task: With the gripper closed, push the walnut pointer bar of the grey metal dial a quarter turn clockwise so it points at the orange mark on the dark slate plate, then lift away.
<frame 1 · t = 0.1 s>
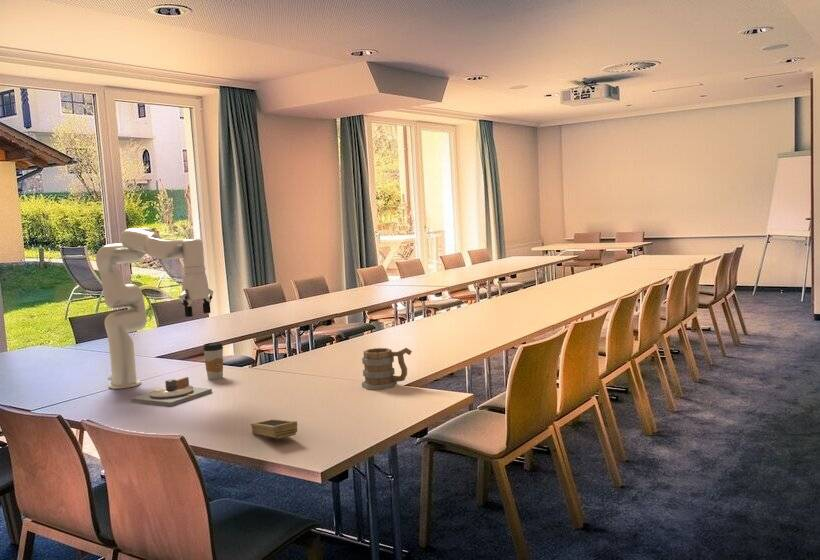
hand: (198, 314, 269), 31 cm above the table, tool pointing down, fingers open, 9 cm apart
box: (272, 437, 211), on the table
tankard: (388, 386, 267), on the table
coffee cup: (215, 378, 298), on the table
dial plate: (172, 397, 268), on the table
dial: (171, 386, 267), point 4 cm above the table, hinge at 90.0°
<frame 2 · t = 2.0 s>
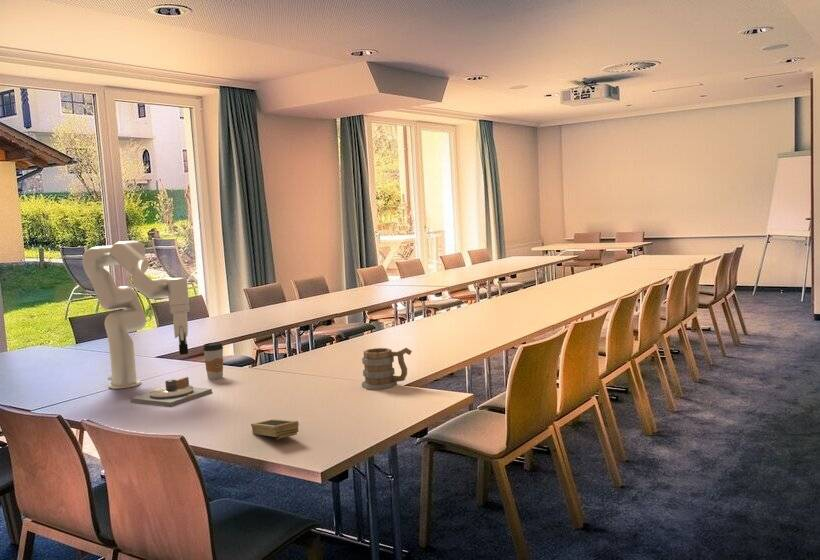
hand: (184, 353, 277), 15 cm above the table, tool pointing down, fingers closed
nothing on the table moved.
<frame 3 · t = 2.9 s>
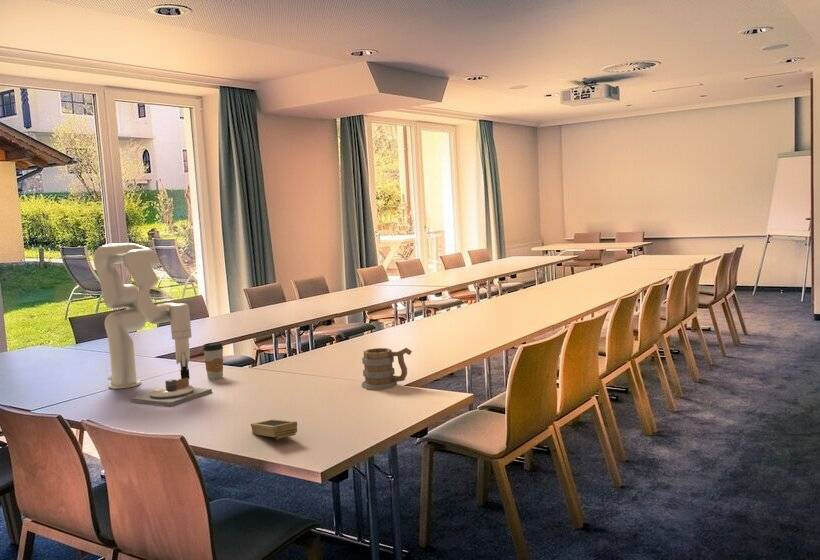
hand: (185, 379, 278), 4 cm above the table, tool pointing down, fingers closed
nothing on the table moved.
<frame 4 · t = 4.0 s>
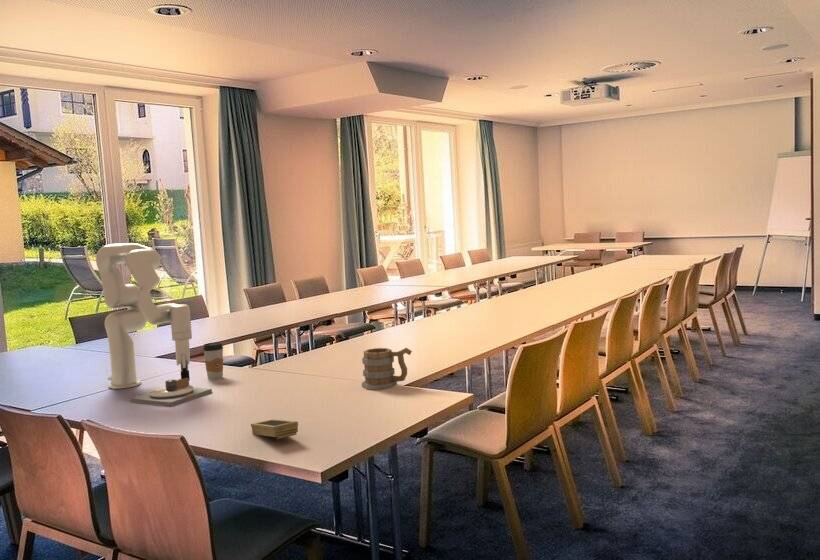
hand: (185, 380, 276), 4 cm above the table, tool pointing down, fingers closed
dial: (171, 386, 267), point 4 cm above the table, hinge at 89.1°, touching gripper
everything else where it was.
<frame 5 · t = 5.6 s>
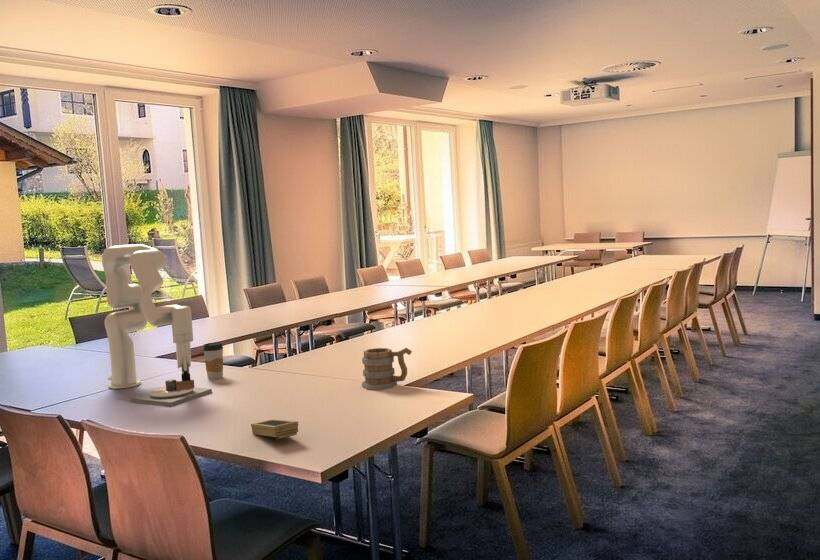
hand: (186, 384, 271), 4 cm above the table, tool pointing down, fingers closed
dial: (171, 386, 267), point 4 cm above the table, hinge at 40.5°, touching gripper
everything else where it was.
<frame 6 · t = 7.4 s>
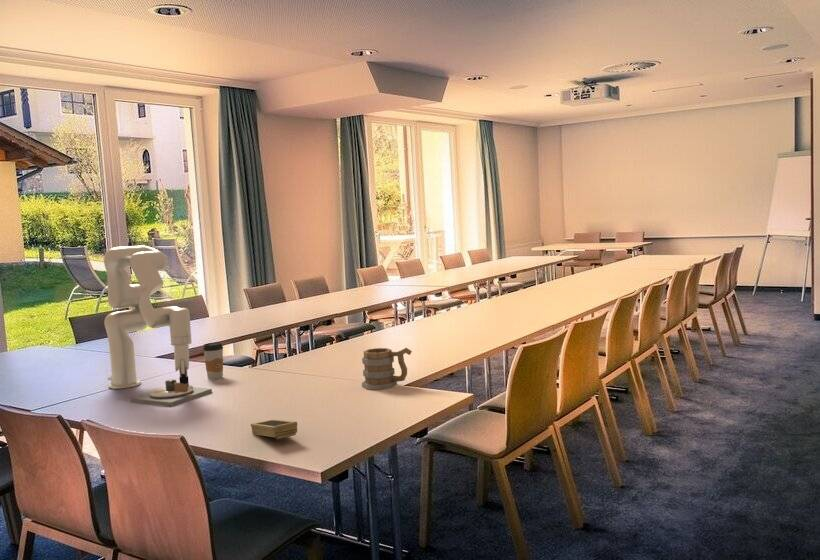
hand: (184, 386, 267), 4 cm above the table, tool pointing down, fingers closed
dial: (171, 386, 267), point 4 cm above the table, hinge at -2.6°, touching gripper
everything else where it was.
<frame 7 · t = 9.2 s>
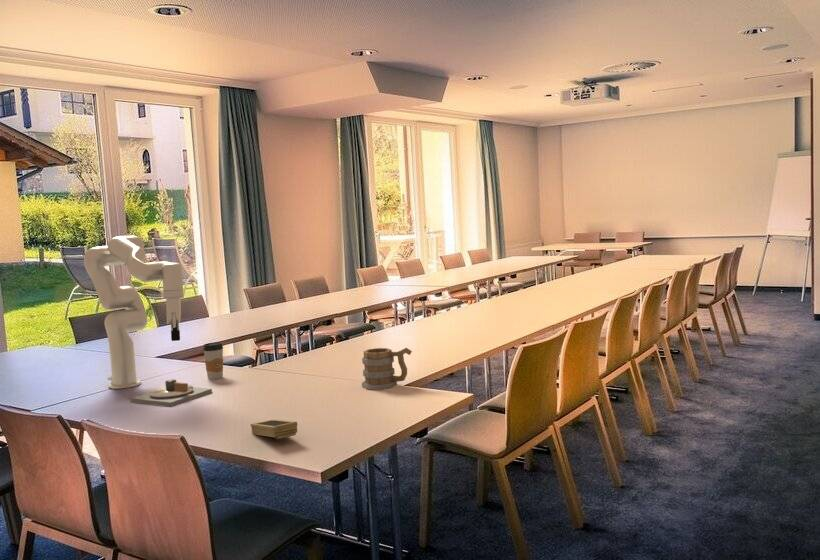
hand: (175, 340, 273), 21 cm above the table, tool pointing down, fingers closed
dial: (171, 386, 267), point 4 cm above the table, hinge at -2.7°
everything else where it was.
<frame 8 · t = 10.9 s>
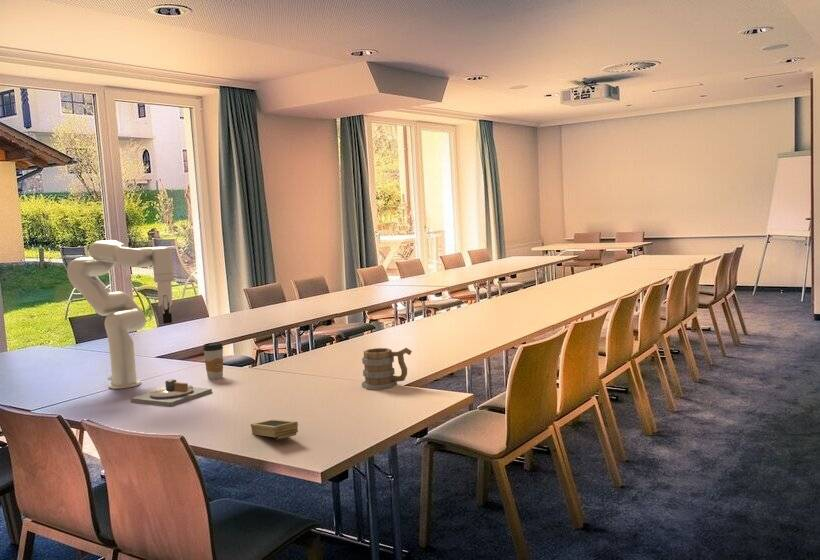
hand: (167, 322, 280), 27 cm above the table, tool pointing down, fingers closed
nothing on the table moved.
at the end: dial at -3° (first picture: +90°); coffee cup moved 0.2 cm from its start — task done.
